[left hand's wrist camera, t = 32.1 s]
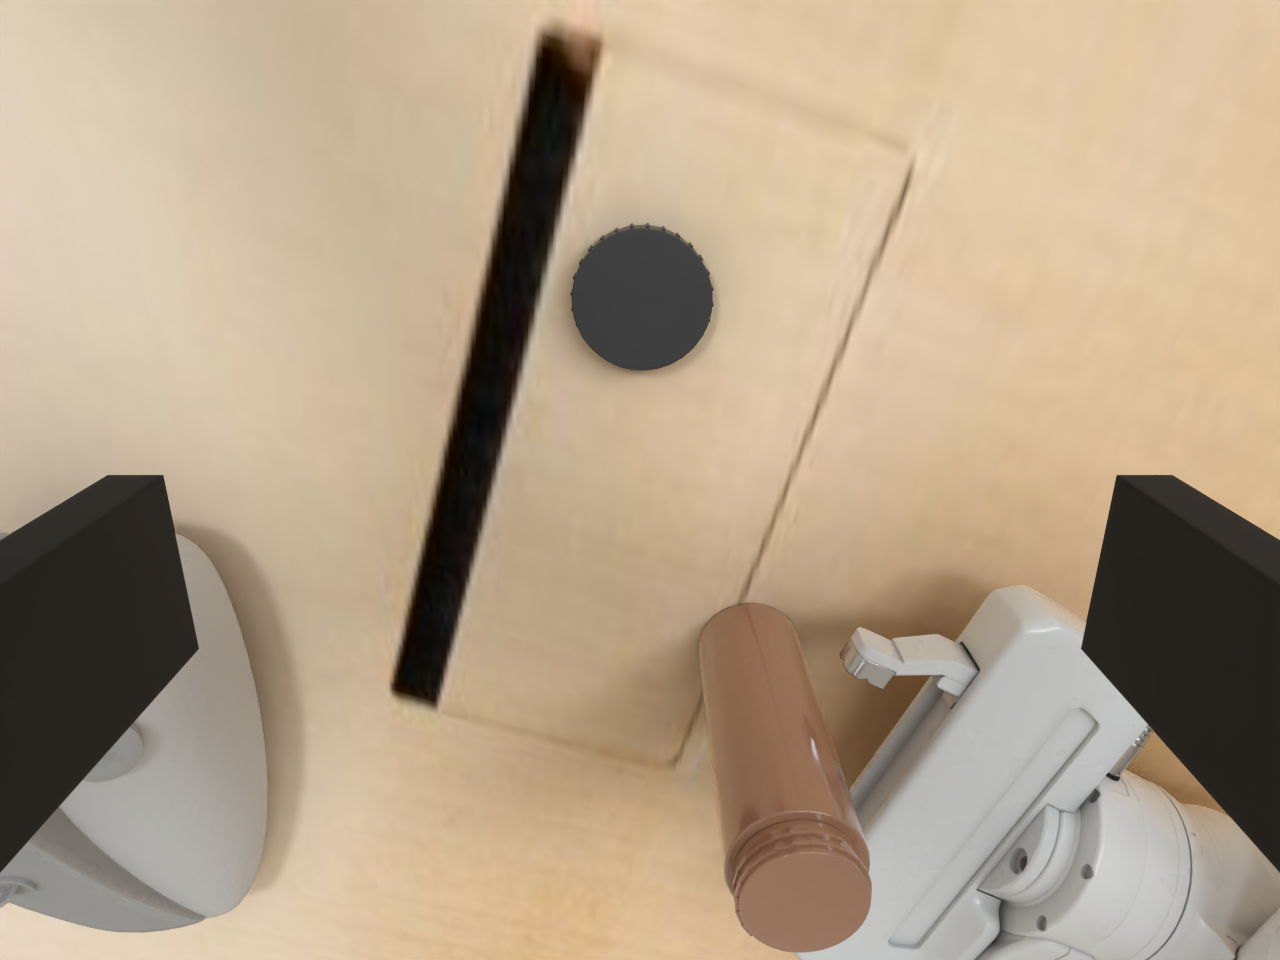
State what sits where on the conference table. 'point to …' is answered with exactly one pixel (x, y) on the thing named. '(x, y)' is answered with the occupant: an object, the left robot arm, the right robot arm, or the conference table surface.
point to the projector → (163, 796)
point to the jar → (779, 787)
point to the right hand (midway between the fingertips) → (793, 732)
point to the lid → (642, 297)
